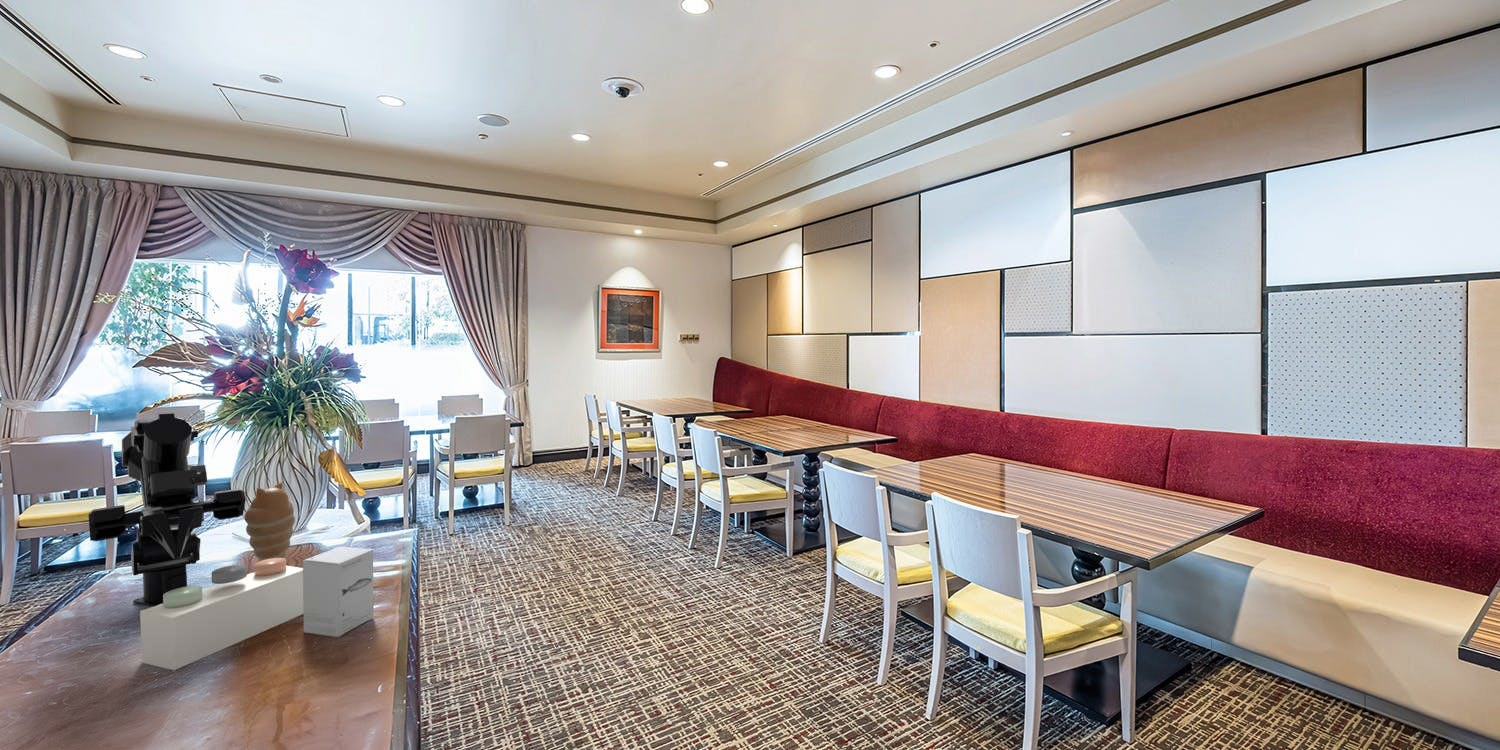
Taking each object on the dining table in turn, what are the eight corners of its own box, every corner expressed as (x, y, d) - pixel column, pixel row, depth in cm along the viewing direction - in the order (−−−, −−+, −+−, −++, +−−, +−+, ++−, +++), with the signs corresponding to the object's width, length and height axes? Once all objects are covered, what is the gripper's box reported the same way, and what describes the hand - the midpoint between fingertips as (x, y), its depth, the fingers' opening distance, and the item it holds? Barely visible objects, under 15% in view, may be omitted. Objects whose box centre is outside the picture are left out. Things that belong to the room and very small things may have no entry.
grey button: (204, 581, 97) (204, 572, 97) (234, 572, 101) (234, 563, 101) (224, 585, 96) (223, 576, 96) (253, 575, 100) (253, 566, 100)
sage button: (156, 604, 91) (155, 595, 91) (189, 593, 95) (189, 584, 95) (176, 608, 90) (175, 599, 90) (209, 597, 94) (209, 587, 94)
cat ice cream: (277, 559, 132) (275, 479, 131) (306, 562, 130) (304, 481, 129) (235, 574, 123) (233, 489, 122) (266, 577, 122) (264, 491, 121)
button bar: (141, 662, 90) (140, 611, 89) (278, 606, 109) (277, 564, 108) (174, 670, 88) (172, 617, 87) (307, 612, 107) (306, 568, 107)
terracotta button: (248, 573, 103) (247, 565, 103) (274, 564, 108) (274, 556, 107) (266, 576, 102) (266, 568, 102) (292, 567, 106) (292, 559, 106)
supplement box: (339, 638, 98) (337, 563, 97) (302, 633, 99) (300, 559, 99) (375, 618, 105) (374, 548, 105) (340, 613, 107) (339, 545, 106)
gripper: (84, 459, 92) (90, 547, 85) (241, 444, 106) (256, 518, 99) (87, 498, 98) (92, 583, 91) (235, 479, 112) (249, 551, 105)
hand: (177, 557), depth 97 cm, fingers closed
